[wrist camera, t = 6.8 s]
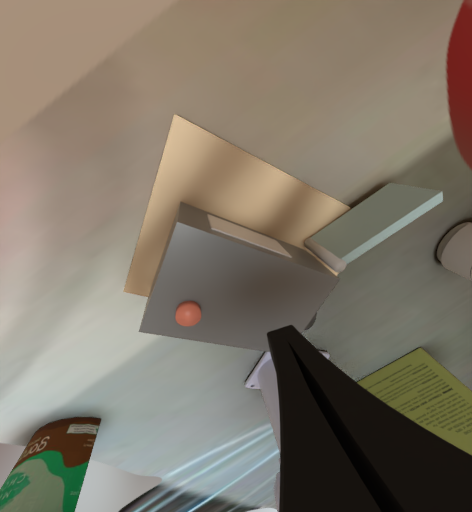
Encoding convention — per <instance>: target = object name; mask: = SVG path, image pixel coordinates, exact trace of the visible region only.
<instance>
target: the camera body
mask: <svg viewBox="0 0 472 512" xmlns="http://www.w3.org/2000/svg"><path fill="white" fill-rule="evenodd" d="M339 280H340V279H339V278H338V277H337V276H336V275H335V274H333V273H332V272H331V271H330V270H329V269H328V268H326V267H325V266H324V265H323V264H322V263H321V262H319V261H318V260H317V259H316V258H315V257H314V256H312V255H311V254H310V253H309V252H308V251H307V250H304V249H302V248H299V247H296V246H294V245H291V244H289V243H286V242H284V241H281V240H278V239H276V238H273V237H271V236H268V235H266V234H263V233H260V232H258V231H255V230H253V229H250V228H248V227H245V226H242V225H240V224H237V223H235V222H232V221H230V220H227V219H224V218H222V217H219V216H217V215H214V214H212V213H209V212H206V211H204V210H201V209H199V208H196V207H194V206H191V205H188V204H186V203H183V202H181V201H180V204H179V207H178V210H177V213H176V216H175V219H174V222H173V225H172V228H171V231H170V233H169V236H168V239H167V242H166V245H165V248H164V251H163V254H162V257H161V260H160V263H159V266H158V269H157V272H156V274H155V277H154V280H153V283H152V286H151V289H150V293H149V297H148V300H147V304H146V308H145V311H144V315H143V319H142V322H141V326H140V330H139V332H143V333H150V334H156V335H162V336H169V337H175V338H182V339H188V340H195V341H201V342H207V343H214V344H220V345H227V346H233V347H240V348H246V349H252V350H259V351H265V352H270V349H269V344H268V339H267V333H268V332H270V331H273V330H276V329H279V328H282V327H285V326H289V325H293V326H294V327H295V328H296V329H297V330H298V331H299V332H300V333H302V332H303V331H304V330H307V329H309V328H310V327H311V326H312V325H313V324H314V322H315V319H316V314H317V311H318V310H319V308H320V307H321V305H322V304H323V303H324V301H325V300H326V298H327V297H328V296H329V294H330V293H331V291H332V290H333V289H334V287H335V286H336V284H337V283H338V282H339Z"/></svg>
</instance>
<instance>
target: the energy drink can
mask: <svg viewBox="0 0 472 512" xmlns="http://www.w3.org/2000/svg"><path fill="white" fill-rule="evenodd" d="M437 257H438V259H439V260H440V261H441V263H442V266H443V267H444V268H446V269H447V270H450V271H452V272H454V273H456V274H458V275H460V276H463V277H465V278H467V279H469V280H471V281H472V223H470V222H466V223H462V224H460V225H458V226H456V227H454V228H453V229H452V230H451V231H449V232H448V233H447V234H446V236H445V237H444V238H443V239H442V241H441V242H440V244H439V246H438V249H437Z"/></svg>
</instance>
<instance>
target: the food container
mask: <svg viewBox="0 0 472 512" xmlns="http://www.w3.org/2000/svg"><path fill="white" fill-rule="evenodd" d="M100 422H101V419H98V418H92V417H74V418H67V419H61V420H58V421H55V422H52V423H48V424H47V425H45V426H43V427H41V428H40V429H39V430H38V431H36V433H35V434H34V435H33V437H32V439H31V440H30V442H29V444H28V445H27V447H26V448H25V450H24V452H23V453H22V455H21V457H20V458H19V460H18V462H17V463H16V465H15V466H14V468H13V469H12V471H11V473H10V474H9V476H8V478H7V479H6V481H5V483H4V484H3V486H2V487H1V489H0V512H75V508H76V505H77V501H78V498H79V494H80V491H81V487H82V484H83V481H84V477H85V474H86V470H87V467H88V463H89V460H90V456H91V453H92V449H93V446H94V442H95V439H96V435H97V432H98V428H99V425H100Z"/></svg>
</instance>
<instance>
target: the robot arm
mask: <svg viewBox="0 0 472 512" xmlns="http://www.w3.org/2000/svg"><path fill="white" fill-rule="evenodd" d="M267 339H268V344H269V349H270V352H265V354H264V355H263V357H262V358H261V360H260V361H259V363H258V364H257V366H256V367H255V369H254V370H253V372H252V373H251V375H250V376H249V378H248V379H247V381H246V382H245V387H246V388H255V389H261V392H262V395H263V398H264V402H265V405H266V408H267V412H268V415H269V418H270V422H271V425H272V428H273V431H274V435H275V438H276V441H277V445H278V448H279V451H280V458H279V462H280V472H278V473H277V474H276V480H275V483H274V495H275V501H276V506H277V511H278V512H472V455H470V454H469V453H467V452H465V451H463V450H461V449H460V448H458V447H456V446H454V445H453V444H451V443H449V442H447V441H446V440H444V439H442V438H440V437H439V436H437V435H435V434H434V433H432V432H430V431H429V430H427V429H425V428H424V427H422V426H420V425H419V424H417V423H416V422H414V421H412V420H411V419H409V418H408V417H406V416H405V415H403V414H401V413H400V412H398V411H397V410H395V409H394V408H392V407H390V406H389V405H387V404H386V403H385V402H383V401H382V400H380V399H379V398H377V397H376V396H374V395H373V394H372V393H370V392H369V391H367V390H366V389H365V388H363V387H362V386H361V385H359V384H358V383H357V382H355V381H354V380H353V379H351V378H350V377H349V376H348V375H346V374H345V373H344V372H343V371H341V370H340V369H339V368H338V367H336V366H335V365H334V364H333V363H332V362H331V361H329V360H328V358H329V357H330V355H329V353H328V352H323V351H318V350H317V349H316V348H315V347H314V346H313V345H312V344H311V343H310V342H309V341H308V340H307V339H306V338H305V337H304V336H303V335H302V334H301V333H300V332H299V331H298V330H297V329H296V328H295V327H294V326H293V325H289V326H285V327H282V328H279V329H276V330H273V331H270V332H268V333H267Z"/></svg>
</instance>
